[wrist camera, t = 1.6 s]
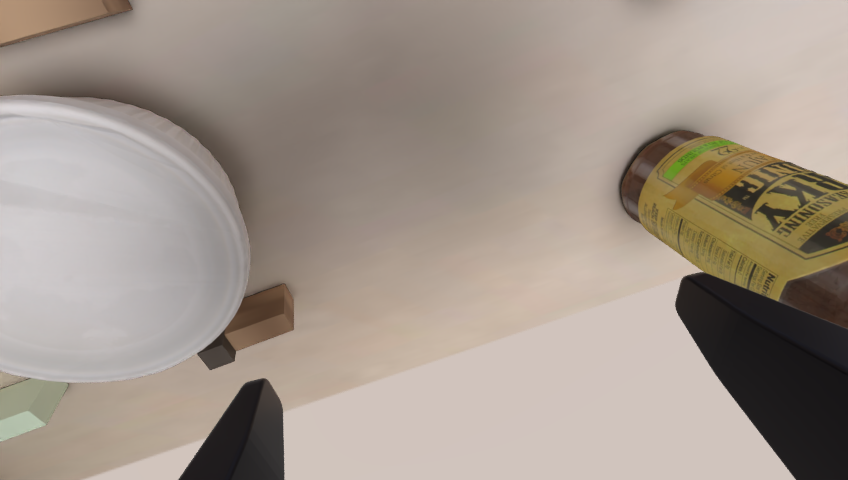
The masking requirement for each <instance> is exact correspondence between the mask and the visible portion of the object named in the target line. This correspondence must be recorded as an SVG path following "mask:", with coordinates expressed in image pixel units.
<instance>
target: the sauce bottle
mask: <svg viewBox="0 0 848 480" xmlns="http://www.w3.org/2000/svg"><path fill="white" fill-rule="evenodd" d="M621 193H622V194H621V195H622V200H623V203H624V206H625V209H626V211H627V213H628V214H629V216H630V217H631V218H632V219H634V220H635V221H637V222H639V223H641V224H642V225H643V226H644V228H645V229H646V230H647V231H648V232H650V233H651V234H652V235H654V236H655V237H657V238H658V239H659V240H661V241H662V242H664V243H665V244H666V245H668V246H669V247H671V248H672V249H673V250H675V251H676V252H677V253H679V254H680V255H682V256H683V257H684V258H686V259H687V260H688V261H690V262H691V263H692V264H694V265H695V266H697V267H698V268H699V269H701V270H702V271H703V272H705V273H708V274H710V275H713V276H716V277H718V278H721V279H723V280H726V281H728V282H731V283H733V284H736V285H738V286H741V287H743V288H746V289H748V290H751V291H753V292H756V293H759V294H761V295H764V296H766V297H769V298H771V299H774V300H776V301H779V302H781V303H784V304H786V305H789V306H791V307H794V308H796V309H799V310H802V311H804V312H807V313H809V314H812V315H814V316H817V317H819V318H822V319H824V320H827V321H829V322H832V323H834V324H837V325H839V326H842V327H845V328H847V329H848V184H844V183H842V182H839V181H837V180H835V179H832V178H830V177H828V176H824V175H821V174H818V173H816V172H814V171H810V170H807V169H804V168H802V167H799V166H797V165H795V164H793V163H791V162H785V161H782V160H780V159H777V158H774V157H771V156H768V155H765V154H763V153H760V152H757V151H755V150H752V149H750V148H747V147H744V146H742V145H739V144H736V143H734V142H731V141H729V140H726V139H723V138H720V137H716V136H704V135H701V134H699V133H694V132H690V131H676V132H673V133H670V134H669V135H667V136H664V137H662V138H660V139H658V140H656V141H655V142H653V143H651V144H649V145H647V146H646V147H645V148H644V149H643V150H642V151H641V152H640V153H639V154H638V155H637V158H636V159H635V160H634V162H633V163H632V164H631V166H630V168H629V170H628V172H627V174H626V175H625V177H624V179H623V183H622V186H621Z"/></svg>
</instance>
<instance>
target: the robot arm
mask: <svg viewBox="0 0 848 480" xmlns="http://www.w3.org/2000/svg"><path fill="white" fill-rule="evenodd" d="M675 307H676V310H677V313H678V315H679V316H680V318H681V320H682V322H683V323H684V325H685V326H686V328H687V330H688V331H689V333H690V334H691V336H692V338H693V339H694V341H695V343H696V344H697V346H698V347H699V349H700V351H701V352H702V354H703V355H704V357H705V359H706V360H707V362H708V363H709V365H710V367H711V368H712V369H713V371H714V373H715V374H716V376H717V377H718V378H719V380H720V381H721V382H722V384H723V385H724V386H725V388H726V389H727V390H728V392H729V393H730V394H731V396H732V397H733V398H734V400H735V401H736V402H737V403H738V405H739V406H740V407H741V409H742V410H743V411H744V412H745V414H746V415H747V416H748V418H749V419H750V420H751V422H752V423H753V424H754V426H755V427H756V428H757V430H758V431H759V432H760V433H761V435H762V436H763V437H764V439H765V440H766V441H767V442H768V444H769V445H770V446H771V448H772V449H773V450H774V452H775V453H776V454H777V456H778V457H779V458H780V459H781V461H782V462H783V463H784V465H785V466H786V467H787V469H788V470H789V471H790V473H791V474H792V475H793V476H794V478H795V479H796V480H848V329H847V328H845V327H842V326H839V325H837V324H834V323H832V322H829V321H827V320H824V319H822V318H819V317H817V316H814V315H812V314H809V313H807V312H804V311H802V310H799V309H796V308H794V307H791V306H789V305H786V304H784V303H781V302H779V301H776V300H774V299H771V298H769V297H766V296H764V295H761V294H759V293H756V292H753V291H751V290H748V289H746V288H743V287H741V286H738V285H736V284H733V283H731V282H728V281H726V280H723V279H721V278H718V277H716V276H713V275H710V274H708V273H704V272H700V273H695V274H691V275H687V276H685V277H683V279H682V280H681V283H680V287H679V291H678V294H677V298H676V303H675ZM179 480H284V440H283V409H282V404H281V401H280V399H279V397H278V396H277V394H276V392H275V391H274V389H273V387H272V386H271V384H270V382H269V381H268V380H267V379H265V378H262V379H258V380H254V381H250V382H247V383H245V384H244V385H243V386H242V388H241V389H240V391H239V392H238V394H237V395H236V397H235V398H234V399H233V401H232V402H231V404H230V405H229V407H228V408H227V410H226V411H225V413H224V414H223V415H222V417H221V418H220V420H219V421H218V423H217V424H216V426H215V427H214V429H213V430H212V432H211V433H210V434H209V436H208V437H207V439H206V440H205V442H204V443H203V445H202V446H201V448H200V449H199V450H198V452H197V453H196V455H195V456H194V458H193V459H192V461H191V462H190V464H189V465H188V467H187V468H186V469H185V471H184V472H183V474H182V475H181V477H180V478H179Z"/></svg>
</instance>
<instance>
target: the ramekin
mask: <svg viewBox="0 0 848 480" xmlns="http://www.w3.org/2000/svg"><path fill="white" fill-rule="evenodd" d="M250 260H251V254H250V243H249V237H248V233H247V229H246V226H245V222H244V220H243V217H242V214H241V212H240V210H239V204H238V200H237V198H236V196H235V192H234V188H233V186H232V185H231V183H230V181H229V178H228V176H227V174H226V173H225V172H224V170H223V169H222V167H221V165H220V164H219V162H218V161H217V160H216V159H214V157H213V156H212V154H211V153H210V151H209V150H208V149H206V148H205V147H204V146H203V145H202V144H201V143H200V142H199V141H198V140H197V139H196V138H195V137H194V136H192V135H190V134H189V133H188V132H186V131H185V130H184V129H183V128H181V127H179V126H177V125H175V124H174V123H172V122H171V121H170V120H168V119H166V118H164V117H161V116H158V115H156V114H155V113H153V112H151V111H149V110H146V109H142V108H139V107H136V106H134V105H131V104H125V103H121V102H117V101H114V100H110V99H98V98H93V97H77V98H75V97H55V96H43V95H7V96H0V371H2V372H5V373H8V374H11V375H16V376H20V377H27V378H33V379H38V380H45V381H55V382H66V383H99V382H113V381H121V380H130V379H135V378H140V377H143V376H146V375H152V374H155V373H159V372H162V371H164V370H166V369H169V368H171V367H173V366H176V365H177V364H179V363H181V362H183V361H185V360H187V359H188V358H190V357H192V356H193V355H195V354H196V353H198V352H200V351H201V350H203V349H204V348H206V347H207V346H208V345H209V344H211V343H212V342H213V341H214V340H215V339H216V338H217V337H218V336H219V335H220V334H221V333H222V332H223V331H224V330H225V328H226V327H227V326H228V324H229V323H230V322H231V320H232V319H233V317H234V316H235V314H236V313H237V311H238V309H239V307H240V305H241V302H242V300H243V297H244V294H245V291H246V287H247V283H248V278H249V272H250Z"/></svg>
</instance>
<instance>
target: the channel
mask: <svg viewBox="0 0 848 480" xmlns="http://www.w3.org/2000/svg"><path fill="white" fill-rule="evenodd" d="M129 10H133V9H132V7H131V5H130V3H129V2H128V0H0V47H3V46H6V45H10V44H13V43H17V42H20V41H24V40H27V39H31V38H34V37H38V36H41V35H45V34H48V33H52V32H56V31H59V30H63V29H66V28H70V27H73V26H77V25H80V24H84V23H87V22H91V21H94V20H98V19H101V18H105V17H108V16H112V15H115V14H119V13H122V12H126V11H129ZM292 330H294V300H293V298H292V296H291V294H290V293H289V291H288V289H287V287H286V285H285V284H283V285H280V286H277V287H274V288H271V289H269V290H266V291H263V292H260V293H257V294H255V295H252V296H249V297H246V298H243V300H242V302H241V305H240V307H239V309H238V311H237V313H236V314H235V316H234V317H233V319H232V320H231V322H230V323H229V324H228V326H227V327H226V328H225V330H224V331H223V332H222V333H221V334H220V335H219V336H218V337H217V338H216V339H215V340H214V341H213V342H212V343H211V344H209V345H208V346H207V347H206V348H204V349H203V350H201V351H200V352H198V353H197V354H198V356H199V357H200V358H201V359H202V361H203V362H204V363H205V364H206V366H207V367H208V368H209V369H210V370H212V369H215V368H218V367H220V366H223V365H226V364H228V363H231V362H234V361H235V354H236V351H238V350H240V349H243V348H246V347H249V346H251V345H254V344H257V343H259V342H262V341H265V340H268V339H270V338H273V337H276V336H278V335H281V334H284V333H287V332H289V331H292Z"/></svg>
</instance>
